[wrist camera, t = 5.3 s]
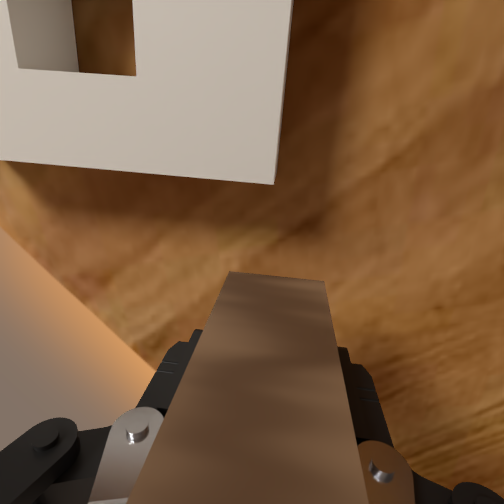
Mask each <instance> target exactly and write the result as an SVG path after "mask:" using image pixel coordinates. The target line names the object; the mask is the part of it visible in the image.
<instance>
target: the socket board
mask: <svg viewBox="0 0 504 504" xmlns="http://www.w3.org/2000/svg"><path fill="white" fill-rule="evenodd" d="M132 2H133V21H134V39H135V58H136V76H122V75H107V74H93V73H79V66H78V57H77V48H76V39H75V30H74V21H73V12H72V3H71V0H0V160H6V161H17V162H28V163H39V164H51V165H62V166H73V167H84V168H95V169H106V170H117V171H128V172H139V173H150V174H161V175H172V176H183V177H194V178H205V179H216V180H227V181H238V182H249V183H260V184H271V185H274V181H275V177H276V173H277V164H278V153H279V143H280V133H281V123H282V113H283V103H284V93H285V83H286V73H287V63H288V53H289V43H290V33H291V23H292V12H293V2H294V0H132Z"/></svg>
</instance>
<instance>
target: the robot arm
mask: <svg viewBox="0 0 504 504" xmlns="http://www.w3.org/2000/svg"><path fill="white" fill-rule="evenodd" d="M202 332H203V330H200V329H195V330H194V332H193V334H192V336H191V338H190V340H189V342H181V341H179V342H177V343H176V344H175V345H174V346H172V347H171V348H170V349H169V350H168V351H167V353H166V355H165V357H164V358H163V360H162V363H161V364H160V365H159V367H158V369H157V372H155V374H154V376H153V378H152V380H151V381H150V383H149V385H148V387H147V389H146V390H145V392H144V394H143V396H142V397H141V399H140V401H139V403H138V405H137V406H136V408H134V409H131V410H129V411H127V412H126V413H124V414H122V415H121V416H120V417H119V418H118V419H117V420H116V421H115V422H114V424H113V425H112V426H108V427H104V428H98V429H91V430H85V431H78V429H77V426H76V424H75V423H74V422H73V421H72V420H70V419H67V418H53V419H49V420H46V421H43V422H41V423H39V424H37V425H35V426H34V427H32V428H31V429H29V430H28V431H27V432H25V433H24V434H23V435H21V436H20V437H19V438H17V439H16V440H15V441H14V442H12V443H11V444H10V445H8V446H7V447H6V448H4V449H3V450H2V451H0V504H126V503H127V500H128V498H129V496H130V494H131V491H132V489H133V487H134V485H135V482H136V480H137V478H138V476H139V473H140V471H141V469H142V467H143V464H144V462H145V460H146V458H147V455H148V453H149V451H150V449H151V446H152V444H153V442H154V440H155V437H156V435H157V433H158V431H159V429H160V426H161V424H162V422H163V420H164V417H165V415H166V413H167V411H168V408H169V406H170V404H171V402H172V399H173V397H174V395H175V393H176V390H177V388H178V386H179V384H180V381H181V379H182V377H183V375H184V372H185V370H186V368H187V366H188V363H189V361H190V359H191V357H192V354H193V352H194V350H195V348H196V345H197V343H198V341H199V339H200V336H201V334H202ZM337 348H338V353H339V358H340V363H341V368H342V373H343V378H344V383H345V388H346V393H347V398H348V403H349V408H350V413H351V418H352V423H353V428H354V433H355V437H356V442H357V447H358V452H359V457H360V462H361V467H362V472H363V477H364V482H365V487H366V492H367V497H368V502H369V504H504V499H503V498H502V497H500V496H499V495H498V494H496V493H495V492H493V491H492V490H490V489H488V488H486V487H484V486H482V485H479V484H476V483H472V482H462V483H460V484H458V485H456V486H455V488H454V489H453V491H452V490H449V489H447V488H445V487H443V486H441V485H438V484H436V483H434V482H432V481H430V480H427V479H425V478H423V477H421V476H420V475H418V474H417V473H415V472H414V471H413V470H411V468H410V466H409V464H408V463H407V461H406V460H405V458H404V457H403V456H402V455H401V454H400V453H399V452H398V451H397V450H395V449H394V446H393V443H392V440H391V437H390V434H389V431H388V428H387V424H386V421H385V418H384V415H383V412H382V409H381V405H380V403H379V399H378V396H377V393H376V392H375V386H374V383H373V380H372V377H371V375H370V374H369V373H368V372H367V371H366V369H365V368H364V367H363V366H362V365H360V364H352V363H351V361H350V357H349V353H348V350H347V348H344V347H337Z"/></svg>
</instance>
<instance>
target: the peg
mask: <svg viewBox="0 0 504 504" xmlns="http://www.w3.org/2000/svg"><path fill="white" fill-rule="evenodd" d="M126 504H369V502H368V497H367V492H366V487H365V482H364V477H363V472H362V467H361V462H360V457H359V452H358V447H357V442H356V437H355V433H354V428H353V423H352V418H351V413H350V408H349V403H348V398H347V393H346V388H345V383H344V378H343V373H342V368H341V363H340V358H339V353H338V348H337V343H336V339H335V334H334V329H333V324H332V319H331V314H330V309H329V304H328V299H327V294H326V289H325V284H324V281H317V280H307V279H298V278H288V277H279V276H269V275H260V274H250V273H241V272H231V271H229V273H228V276H227V278H226V280H225V282H224V285H223V287H222V289H221V291H220V294H219V296H218V298H217V300H216V303H215V305H214V307H213V309H212V312H211V314H210V316H209V318H208V321H207V323H206V325H205V327H204V330H203V332H202V334H201V336H200V339H199V341H198V343H197V345H196V348H195V350H194V352H193V354H192V357H191V359H190V361H189V363H188V366H187V368H186V370H185V372H184V375H183V377H182V379H181V381H180V384H179V386H178V388H177V390H176V393H175V395H174V397H173V399H172V402H171V404H170V406H169V408H168V411H167V413H166V415H165V417H164V420H163V422H162V424H161V426H160V429H159V431H158V433H157V435H156V437H155V440H154V442H153V444H152V446H151V449H150V451H149V453H148V455H147V458H146V460H145V462H144V464H143V467H142V469H141V471H140V473H139V476H138V478H137V480H136V482H135V485H134V487H133V489H132V491H131V494H130V496H129V498H128V500H127V503H126Z"/></svg>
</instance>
